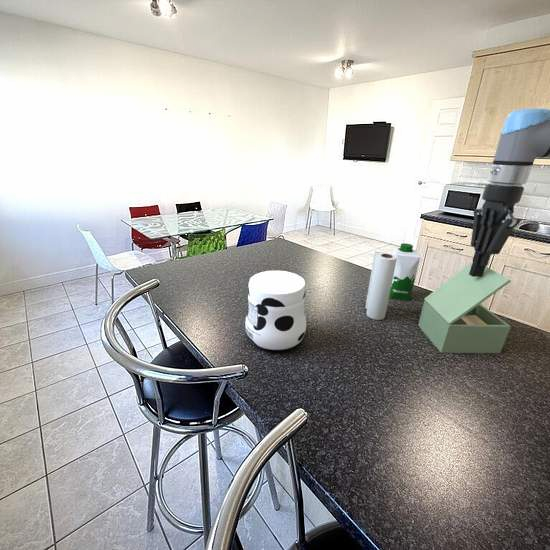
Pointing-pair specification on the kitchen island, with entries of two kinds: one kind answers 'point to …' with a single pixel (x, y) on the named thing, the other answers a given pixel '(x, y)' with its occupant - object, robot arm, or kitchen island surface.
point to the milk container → (276, 310)
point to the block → (470, 320)
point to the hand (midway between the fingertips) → (475, 275)
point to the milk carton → (404, 272)
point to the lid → (465, 293)
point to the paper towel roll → (380, 284)
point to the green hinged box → (464, 332)
